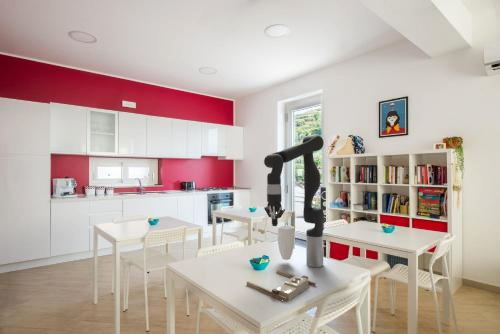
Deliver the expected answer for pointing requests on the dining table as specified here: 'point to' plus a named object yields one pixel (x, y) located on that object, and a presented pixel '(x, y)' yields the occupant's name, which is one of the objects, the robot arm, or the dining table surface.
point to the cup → (286, 241)
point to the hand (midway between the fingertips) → (274, 225)
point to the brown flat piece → (274, 291)
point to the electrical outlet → (293, 287)
